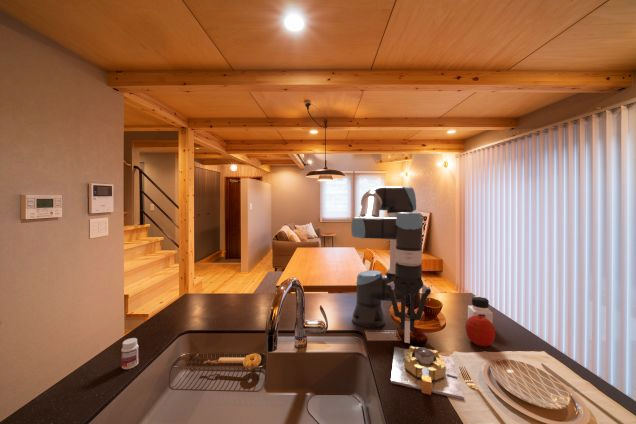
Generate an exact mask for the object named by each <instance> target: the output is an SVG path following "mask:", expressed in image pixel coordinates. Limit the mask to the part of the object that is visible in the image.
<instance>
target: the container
mask: <svg viewBox="0 0 636 424" xmlns="http://www.w3.org/2000/svg"><path fill="white" fill-rule="evenodd" d="M489 305H490V301H489V299H487V298H486V297H484V296H478V295H476V296H475V295H474V296H473V297H471V305H467V320H468V319H469V318H470V317H472V316H474V315H478V316H480V315H481V316H483V317H485V318H487V319H488V320H489V321H490V322H491V323H492V324H493V325H494V321H493V320H494V313H493V312H492V311H491V310H490V309H489Z"/></svg>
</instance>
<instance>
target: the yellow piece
mask: <svg viewBox="0 0 636 424" xmlns="http://www.w3.org/2000/svg"><path fill="white" fill-rule="evenodd" d="M417 348H420V347H419V346H413V345H409V348H406V349H407V350H405V357H404V367H405V368H406V369H407V370H409V371H410V372H411V373H412V374H414V375H415V376H417V377H421V378H422V390H421V393H422V394H427V395H430V396H431V395H432V392H431V380H433V379H434V380H437V379H439V378H442V377H444V376H445V375H446V365H445V361H444V358H443V357H442V356H443V355H441V354H439V350H437V349H430V348H428V349H429V350H430V351H432V352H433V353H434V362H433V365H425V364H420V363H418V362H417V359H416V358H415V349H417Z"/></svg>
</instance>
